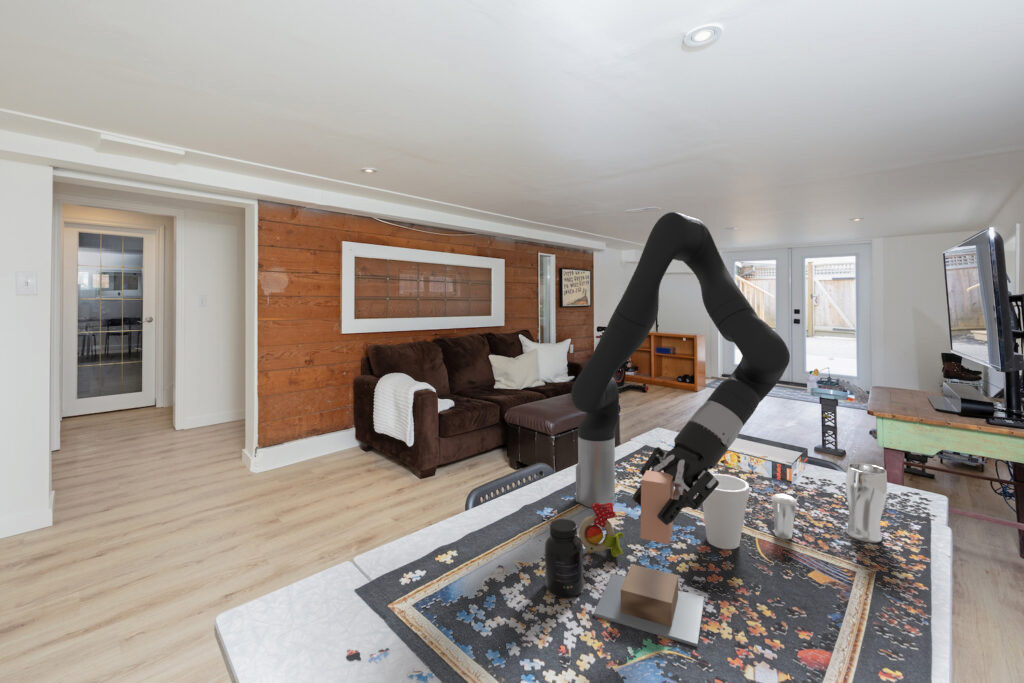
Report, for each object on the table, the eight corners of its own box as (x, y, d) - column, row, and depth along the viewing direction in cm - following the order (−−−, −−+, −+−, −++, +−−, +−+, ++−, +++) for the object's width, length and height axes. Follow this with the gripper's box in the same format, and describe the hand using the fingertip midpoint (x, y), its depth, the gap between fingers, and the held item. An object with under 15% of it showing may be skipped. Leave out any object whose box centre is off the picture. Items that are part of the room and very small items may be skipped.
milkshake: (803, 542, 97) (805, 496, 96) (775, 540, 98) (777, 495, 97) (794, 531, 101) (796, 487, 100) (768, 529, 102) (769, 486, 101)
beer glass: (878, 531, 100) (882, 464, 99) (889, 546, 94) (892, 476, 93) (840, 525, 103) (843, 460, 102) (847, 540, 97) (851, 471, 96)
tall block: (640, 538, 76) (641, 479, 75) (645, 525, 80) (646, 470, 79) (669, 544, 74) (670, 484, 73) (672, 531, 78) (673, 474, 77)
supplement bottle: (542, 577, 86) (541, 516, 85) (578, 574, 87) (577, 514, 86) (548, 601, 80) (547, 535, 79) (587, 598, 80) (586, 532, 79)
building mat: (593, 615, 76) (593, 612, 76) (612, 576, 86) (612, 573, 86) (697, 647, 68) (697, 643, 68) (704, 599, 79) (704, 596, 79)
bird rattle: (592, 571, 92) (634, 554, 91) (569, 522, 91) (611, 504, 90) (589, 554, 98) (628, 538, 97) (567, 508, 97) (606, 491, 96)
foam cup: (711, 526, 104) (712, 470, 103) (754, 541, 97) (756, 482, 96) (691, 541, 98) (691, 482, 97) (735, 558, 91) (736, 495, 90)
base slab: (620, 612, 76) (620, 589, 75) (631, 585, 83) (631, 564, 82) (671, 627, 72) (671, 603, 72) (678, 597, 79) (678, 575, 79)
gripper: (668, 410, 84) (611, 482, 81) (728, 432, 70) (662, 518, 68) (691, 435, 86) (637, 505, 83) (754, 460, 72) (691, 546, 70)
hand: (648, 511), depth 76 cm, fingers closed on tall block, 6 cm apart
